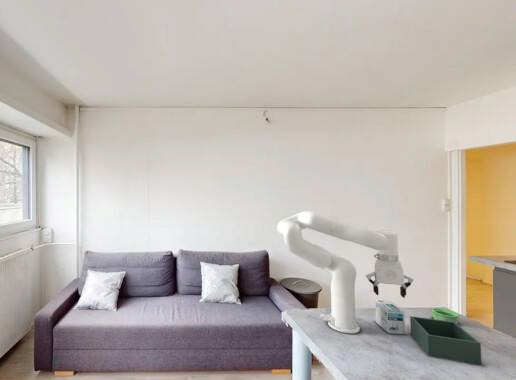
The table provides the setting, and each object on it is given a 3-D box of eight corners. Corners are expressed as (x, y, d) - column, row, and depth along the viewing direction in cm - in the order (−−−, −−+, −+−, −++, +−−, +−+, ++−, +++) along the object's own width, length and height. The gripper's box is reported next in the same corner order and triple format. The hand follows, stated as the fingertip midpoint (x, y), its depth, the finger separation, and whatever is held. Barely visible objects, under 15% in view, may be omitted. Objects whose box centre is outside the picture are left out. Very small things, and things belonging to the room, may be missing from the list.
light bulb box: (405, 335, 114) (404, 310, 114) (388, 333, 116) (387, 309, 116) (391, 323, 125) (390, 300, 125) (375, 321, 126) (374, 299, 126)
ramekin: (441, 325, 122) (440, 315, 122) (427, 316, 131) (427, 307, 131) (464, 326, 120) (464, 317, 120) (449, 317, 129) (448, 308, 129)
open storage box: (428, 355, 100) (427, 335, 100) (410, 333, 115) (410, 316, 115) (481, 365, 94) (480, 343, 94) (455, 340, 109) (454, 322, 109)
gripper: (367, 258, 121) (368, 296, 120) (415, 261, 114) (417, 301, 113) (363, 254, 128) (364, 290, 127) (408, 257, 121) (410, 294, 120)
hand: (389, 295), depth 120 cm, fingers open, 9 cm apart
